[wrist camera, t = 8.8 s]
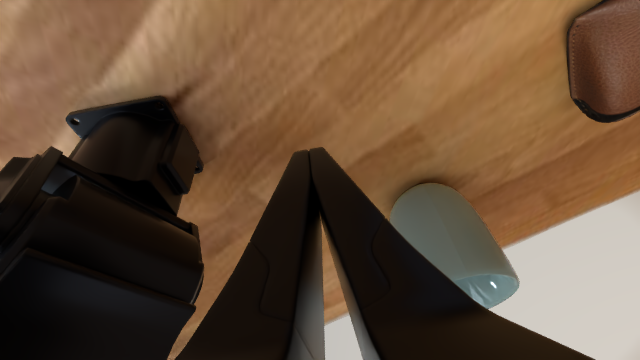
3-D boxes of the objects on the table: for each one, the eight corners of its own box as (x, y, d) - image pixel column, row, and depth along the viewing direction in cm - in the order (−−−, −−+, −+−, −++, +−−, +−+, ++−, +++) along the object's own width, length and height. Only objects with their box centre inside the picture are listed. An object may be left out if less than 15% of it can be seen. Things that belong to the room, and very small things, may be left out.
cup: (416, 159, 26) (470, 264, 19) (477, 183, 29) (542, 281, 22) (365, 214, 31) (393, 315, 24) (423, 229, 34) (462, 323, 27)
